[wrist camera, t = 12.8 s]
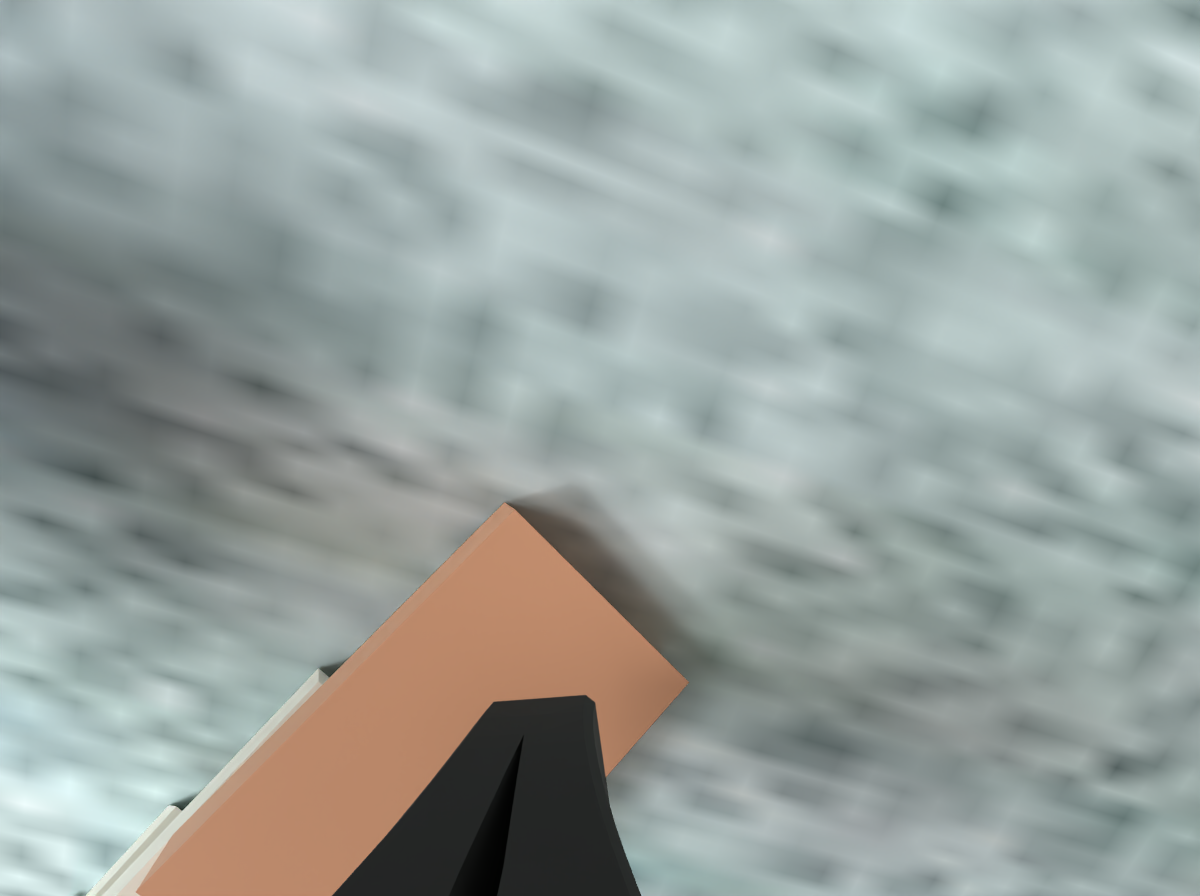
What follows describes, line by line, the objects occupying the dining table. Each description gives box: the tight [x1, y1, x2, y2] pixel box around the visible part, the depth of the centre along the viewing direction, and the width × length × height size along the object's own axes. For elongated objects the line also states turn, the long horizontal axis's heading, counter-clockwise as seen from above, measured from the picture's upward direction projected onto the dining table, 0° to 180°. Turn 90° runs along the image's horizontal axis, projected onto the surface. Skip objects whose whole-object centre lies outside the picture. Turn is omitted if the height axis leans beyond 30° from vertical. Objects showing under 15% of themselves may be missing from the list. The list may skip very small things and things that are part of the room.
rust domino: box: [136, 502, 689, 896], centre depth 12 cm, size 2×4×8 cm
